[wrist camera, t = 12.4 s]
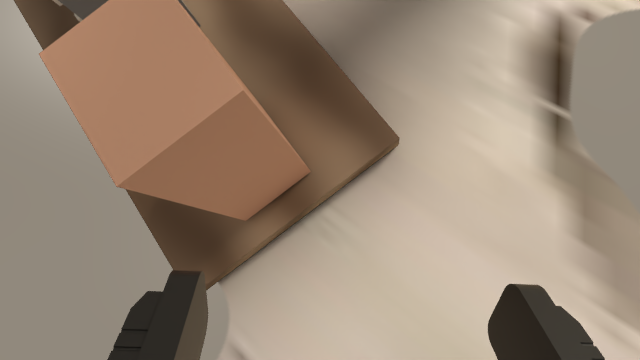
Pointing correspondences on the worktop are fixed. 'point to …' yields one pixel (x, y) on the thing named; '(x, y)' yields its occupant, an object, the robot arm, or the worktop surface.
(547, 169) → the worktop surface
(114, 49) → the terracotta stub
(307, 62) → the walnut board
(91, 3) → the charcoal ticket block
